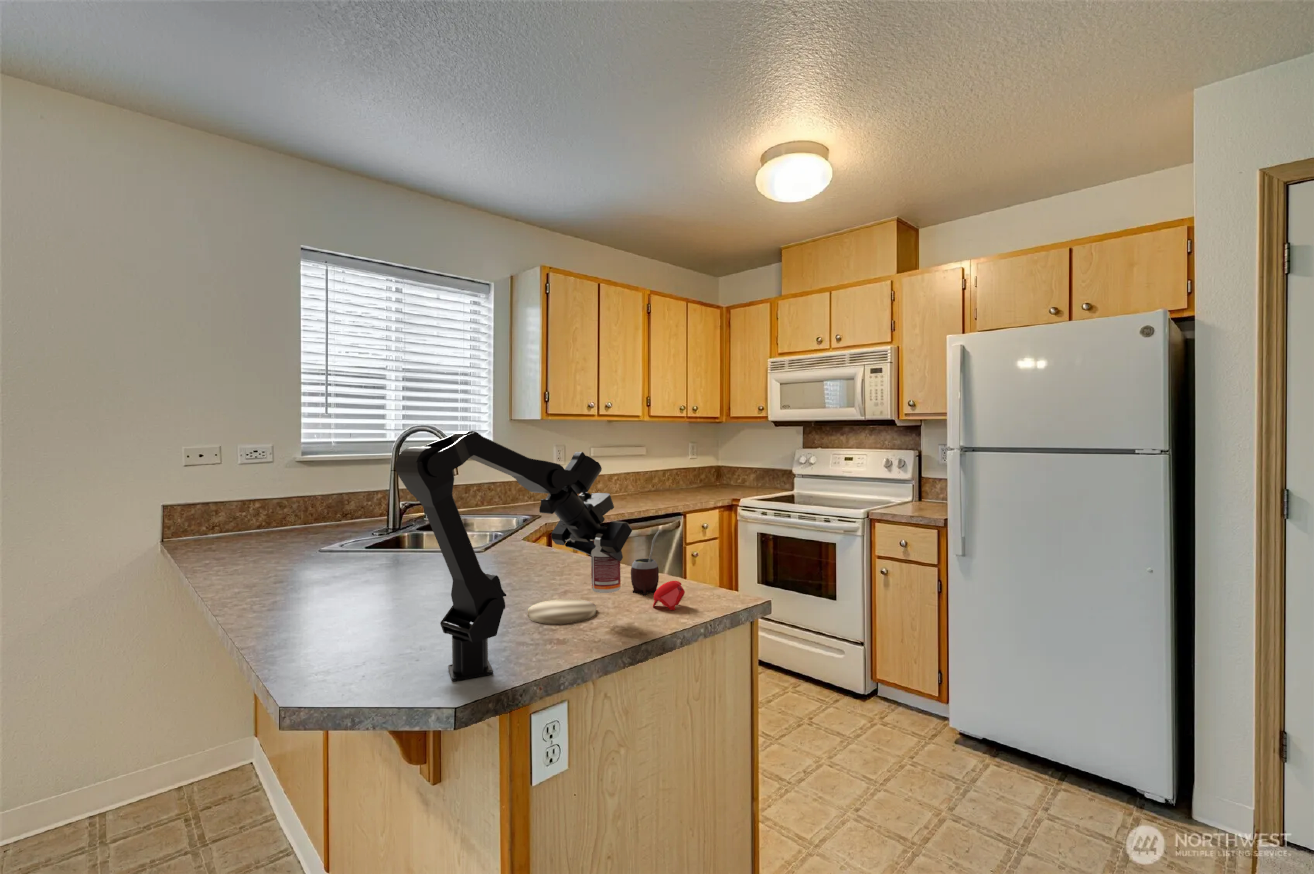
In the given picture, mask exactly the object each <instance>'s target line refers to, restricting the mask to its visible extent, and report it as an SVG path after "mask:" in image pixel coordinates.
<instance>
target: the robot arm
mask: <svg viewBox="0 0 1314 874" xmlns="http://www.w3.org/2000/svg"><path fill="white" fill-rule="evenodd" d="M467 460H473V461H475V462H478V463H480V464H482V465H485V466H487V467H489V468H491V469H494V470H497V471H499V472H501V473H504V474H505V475H509V476H510V477H512V478H514V479H515V480H516V482H517V483H518V484H519V485H520V486H521V487H522V488H524V489H526V490H527V491H528V492H531V493H536V494H538V493H539V494H547V495H546V497H545V498H544V499H543V498H541V499H540V505H539V510H538V511H539V514H546V515H547V514H548V515H554V514H555V515H556V517H557V518H558V520H559V521H558V522H557V523H556V525H555V527H554V528H553V530H552V531H551V536H550V538H551V540H552V541H553V543H554V544H555V545H558V546H565V548H568V549H572V550H575V551H578V552H581V553H582V554H586V555H589V556H591V551H592V550H593V549H594V548H595V547H596V545H595V544H594V540H595V538H600V546H601V547H602V549H601V550H600V552H602V553H604V554H606V555H608V556H610V557H612V558H614V559H616V560H618V561H620V562H622V561H623V558H624V556H623V552H622V549H623V547H624V546H625V544H626V542H627V541H628V539H629V537H630V536H631V534H632V532H633V528H632V527H631V526H630V524H629V522H626V521H620V520H619V521H617V520H614V521H610V522H609V524H608V525H607V526H603V525H601V524H603V523H604V521H605V520H606V518H605V517H604V516H605V515H607V514H608V512H610V511H612V510H613V509H614V508H615V505H614V502H613V499H612V497H611V496H612V495H611V493H609V492H608V493H607V492H596V493H594V492H593V493H589V490H590V489H591V487H592V486H593V484H594V483H595V481H596V480H597V479H598V477H599V476H600V473H602V471H603V470H602V469H603V467H602V465H601V464H600V463H599V461H597V460H595V459H593V458H592V457H590V456H588V455H586V454H585V453H584V451H575V452H574V453H573V455H572V457H571V460H570V461H569V462H568V463H567V465H566V467H563V466H562V465H561V464H560V463H557V462H556V463H555V462H551V461H547V460H543V459H542V460H541V459H536V458H535V459H534V458H530V457H527V456H525V455H523V454H521V453H519V452H517V451H515V450H512V449H510V448H508V447H507V446H504V445H503V444H502V445H501V444H500V443H497V442H496V441H493V440H491V439H489V438H487V437H484V436H483V435H481V434H480V433H479V432H477V431H475V430H474V431H473V430H463V431H462V430H461V431H456V432H454V433H453V434H451V435H448V436H447V437H444V438H441V439H438V440H436V441H432V442H430V443H428V444H424V445H422V446H410V447H407V448H405V449H404V450H402V451H401V452H400V454H399V455H398V456H397V459H396V461H395V463H394V464H395V465H394V467H395V472H396V474H397V476H398V477H399V479H400V481H401V482H402V483H403V485H404V486H405V488H406V489H407V491H408V493H410V494H411V495H412V496H413V497H414V498H415V499H416V500H417V501H418V502H419V503H420V505H421V506H422V507H423V510H424V513H425V515H426V517H427V520H428V522H429V525H430V528H431V530H432V533H433V535H434V537H435V539H436V542H437V544H438V547H439V549H440V551H441V554H442V557H443V559H444V561H445V563H446V566H447V568H448V571H449V574H450V576H451V579H452V584H451V585H452V587H451V593H450V596H451V600H452V606H451V607H450V608H449V610H448V611H447V613H446V614H445V615H444V617H443V618H442V620H441V621H440V627H441V629H442V632H443V633H444V634H445V635H446V634H447V635H449V636H451V648H452V649H451V650H452V652H451V655H452V656H451V658H452V659H451V661H452V663H450V664H448V666H447V669H448V672H449V675H450V679H451V681H453V682H454V681H462V680H467V679H473V678H478V677H484V676H489V675H493V674H494V669H493V667H492V664H491V663H490V661H489V641H488V640H489V639H490V638H493V637H496V636H497V634H498V632H499V627H500V624H501V620H502V616H503V613H504V610H505V609H506V601H505V597H507V594H506V592H505V591H504V590H503V588H502V583H501V580H500V578H499V576H498V575H497V574H492V573H487V572H484V571H483V569H482V567H481V565H480V562H479V560H478V557H477V555H476V552H475V550H474V547H473V545H472V543H471V539H470V537H469V534H468V532H467V528H466V526H465V525H464V521H463V518H462V516H461V514H460V511H459V509H458V506H457V504H456V502H455V499H454V496H453V491H454V484H455V474H454V470H456V469H457V468H459V467H461V466H462V465H464V464H465V463H466V462H467Z"/></svg>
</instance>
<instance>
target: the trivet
mask: <svg viewBox="0 0 1314 874" xmlns="http://www.w3.org/2000/svg"><path fill="white" fill-rule="evenodd" d="M596 614H597V604H596V603H594V602H592V601H591V600H587V599H582V598H581V599H578V598H560V599H550V600H545V601H540V602H537V603H534V604H533V605H531V606H529V607H528V609H527V618H528V619H529V620H530V621H531V622H534V623H535V622H536V623H538V624H539V623H540V624H546V625H560V624H561V625H563V624H572V623H578V622H582V621H586V620H589V619H590V618H592V617H594V616H595V615H596Z"/></svg>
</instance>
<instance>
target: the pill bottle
mask: <svg viewBox="0 0 1314 874" xmlns="http://www.w3.org/2000/svg"><path fill="white" fill-rule="evenodd" d="M593 542H594V544H595V545H596V547H595V548H594V549H593V550H592V551H591V555H590V566H591V568H590V569H591V571H590V572H591V573H590V574H591V575H590V576H591V578H590V579H591V590H592V591H593V592H595V593H599V594H610V593H615V592H619V591H620V590H621V587H622V586H621V583H622V582H621V581H622V580H621V561H618V560H616V559H614V558H612V557H610V556H608V555H606V554H604V553H602V552H600V550H601V549H602V547H601V546H600V538H595V540H594V541H593Z"/></svg>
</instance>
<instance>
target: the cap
mask: <svg viewBox="0 0 1314 874" xmlns="http://www.w3.org/2000/svg"><path fill="white" fill-rule="evenodd" d="M685 593H686V591H685V589H684V587H683V586H682V582H681V581H679V580H670V581H667V582H664V583H663V584H662V585H660V586H659V587H657V590H656V591H655V593H653V604H652V608H654V607H655V606H656V605H657V603H658V602H659V603H661V604H662V605H663V606H664V607H667V609H669V611H675V610H676V606H679V604H680V602H681V600H682V599H683V597H684V596H685Z"/></svg>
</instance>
